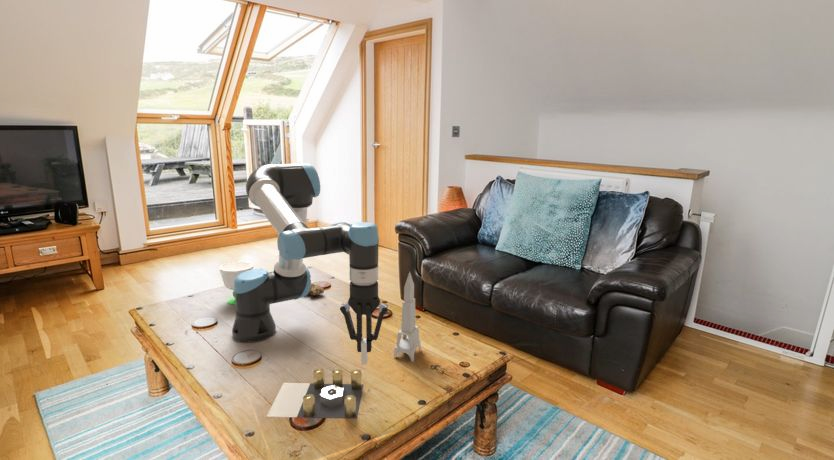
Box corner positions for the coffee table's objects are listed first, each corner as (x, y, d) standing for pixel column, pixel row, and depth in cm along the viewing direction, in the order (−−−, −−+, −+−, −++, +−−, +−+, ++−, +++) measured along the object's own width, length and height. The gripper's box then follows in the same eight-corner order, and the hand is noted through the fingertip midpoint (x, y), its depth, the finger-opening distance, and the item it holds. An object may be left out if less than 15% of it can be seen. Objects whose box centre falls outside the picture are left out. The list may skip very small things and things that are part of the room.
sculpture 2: (420, 350, 159) (423, 268, 152) (413, 361, 151) (415, 276, 144) (402, 346, 161) (404, 266, 154) (393, 357, 153) (395, 273, 146)
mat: (266, 418, 120) (266, 416, 120) (283, 384, 136) (283, 382, 136) (357, 420, 121) (357, 418, 121) (363, 386, 136) (363, 384, 136)
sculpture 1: (289, 289, 213) (289, 278, 211) (325, 294, 207) (325, 284, 206) (279, 295, 205) (278, 284, 204) (316, 300, 199) (315, 289, 198)
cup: (248, 307, 190) (246, 271, 186) (216, 306, 190) (213, 270, 186) (260, 295, 203) (258, 261, 200) (229, 294, 203) (227, 260, 200)
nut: (323, 409, 124) (323, 400, 123) (316, 397, 129) (316, 389, 128) (347, 402, 127) (347, 393, 127) (339, 391, 132) (339, 383, 132)
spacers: (302, 417, 120) (301, 400, 119) (315, 383, 136) (314, 368, 135) (355, 418, 121) (355, 401, 119) (361, 384, 136) (361, 369, 135)
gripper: (337, 285, 116) (338, 368, 122) (387, 286, 116) (387, 369, 122) (341, 276, 124) (342, 354, 129) (389, 276, 124) (388, 355, 129)
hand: (364, 361), depth 125 cm, fingers closed
